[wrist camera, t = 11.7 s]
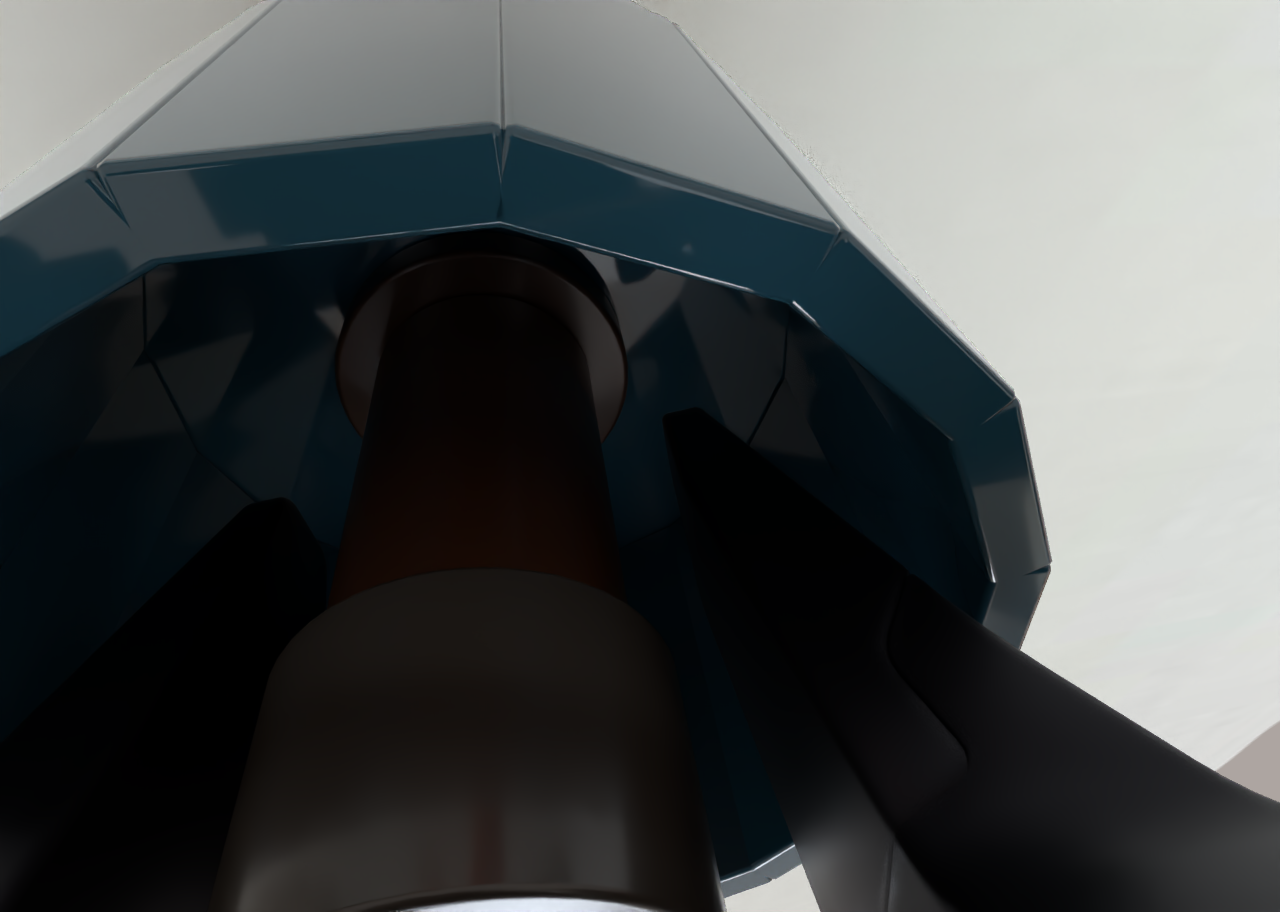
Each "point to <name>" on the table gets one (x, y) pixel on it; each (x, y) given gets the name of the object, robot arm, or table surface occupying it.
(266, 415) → the faceted blue grey bowl
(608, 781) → the flanged grey cylinder
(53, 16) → the table surface
